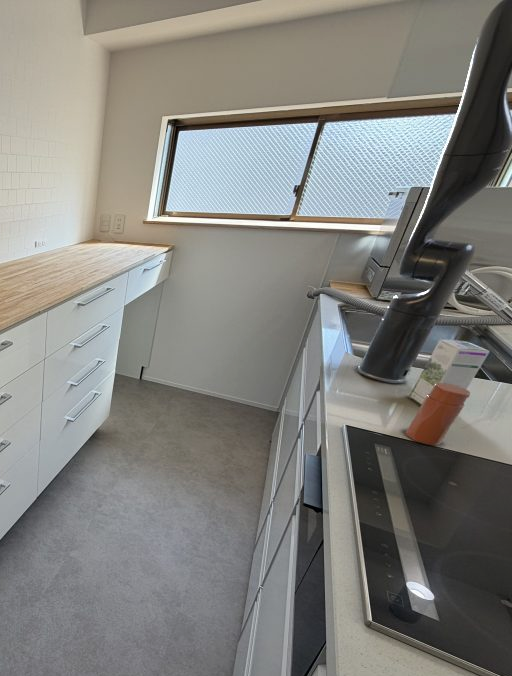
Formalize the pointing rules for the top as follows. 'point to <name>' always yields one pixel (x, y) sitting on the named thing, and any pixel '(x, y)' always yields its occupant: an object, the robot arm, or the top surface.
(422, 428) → the jam jar
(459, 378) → the syrup box
